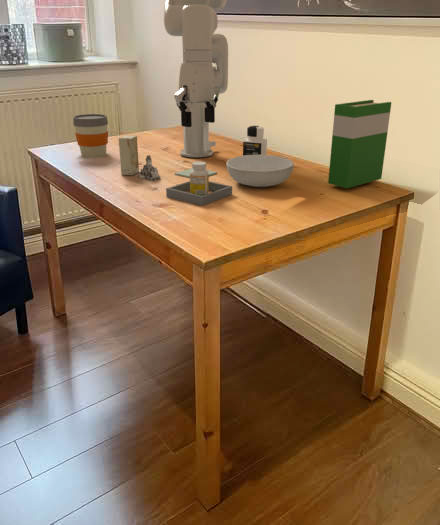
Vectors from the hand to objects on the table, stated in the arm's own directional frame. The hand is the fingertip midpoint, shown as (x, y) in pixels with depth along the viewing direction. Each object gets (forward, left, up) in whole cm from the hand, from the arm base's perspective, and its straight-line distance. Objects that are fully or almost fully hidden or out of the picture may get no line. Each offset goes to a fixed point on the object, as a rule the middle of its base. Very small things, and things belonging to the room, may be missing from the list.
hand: (198, 124), depth 141 cm
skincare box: (-5, -35, -21) cm, 41 cm away
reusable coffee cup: (-13, -64, -21) cm, 69 cm away
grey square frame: (0, 0, -20) cm, 20 cm away
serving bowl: (-22, +6, -21) cm, 31 cm away
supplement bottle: (0, 0, -21) cm, 21 cm away
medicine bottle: (-49, -15, -21) cm, 55 cm away
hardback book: (-44, +28, -21) cm, 56 cm away
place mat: (-18, -17, -20) cm, 32 cm away
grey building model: (-7, -25, -21) cm, 33 cm away
